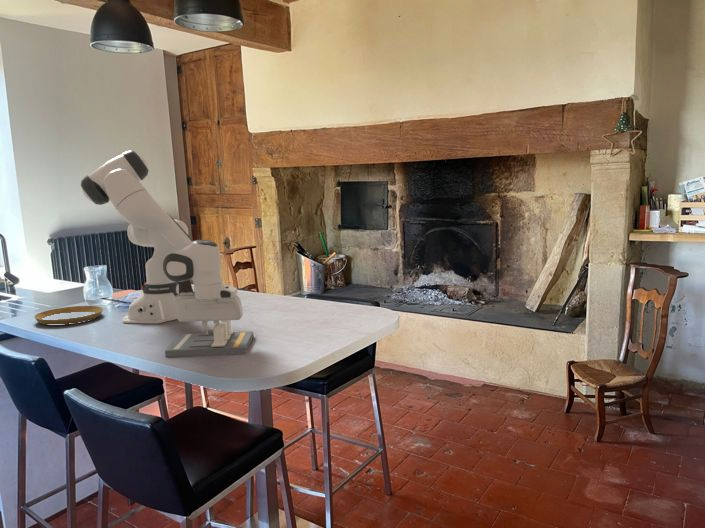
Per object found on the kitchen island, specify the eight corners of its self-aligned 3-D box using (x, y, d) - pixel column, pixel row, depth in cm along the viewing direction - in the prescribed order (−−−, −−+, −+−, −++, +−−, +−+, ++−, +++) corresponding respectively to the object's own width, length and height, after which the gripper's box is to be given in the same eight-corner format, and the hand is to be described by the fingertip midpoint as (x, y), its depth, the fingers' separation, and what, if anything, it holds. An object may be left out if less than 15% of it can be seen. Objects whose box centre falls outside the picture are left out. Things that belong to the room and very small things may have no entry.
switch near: (211, 346, 165) (210, 330, 164) (214, 342, 169) (213, 327, 168) (224, 346, 165) (223, 330, 164) (227, 342, 169) (226, 326, 169)
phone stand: (194, 294, 257) (192, 269, 255) (183, 296, 252) (181, 271, 250) (181, 292, 262) (179, 268, 260) (171, 294, 257) (169, 269, 255)
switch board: (165, 357, 164) (164, 350, 164) (181, 339, 182) (181, 333, 181) (245, 353, 165) (244, 347, 165) (253, 337, 183) (252, 331, 182)
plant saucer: (82, 310, 231) (81, 302, 230) (116, 316, 218) (115, 308, 217) (22, 323, 211) (21, 315, 210) (56, 331, 198) (55, 322, 197)
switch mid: (215, 341, 171) (214, 325, 170) (218, 337, 175) (217, 322, 174) (228, 340, 171) (227, 325, 170) (230, 336, 175) (229, 321, 175)
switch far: (219, 335, 177) (218, 320, 176) (221, 331, 181) (220, 317, 180) (231, 335, 177) (230, 320, 176) (233, 331, 181) (233, 316, 180)
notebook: (97, 299, 253) (97, 295, 253) (130, 292, 267) (129, 289, 267) (132, 305, 238) (132, 301, 238) (164, 298, 252) (164, 294, 251)
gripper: (172, 294, 167) (175, 338, 169) (239, 292, 168) (241, 335, 170) (178, 290, 173) (181, 332, 175) (242, 288, 174) (244, 330, 176)
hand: (211, 334), depth 172 cm, fingers closed
